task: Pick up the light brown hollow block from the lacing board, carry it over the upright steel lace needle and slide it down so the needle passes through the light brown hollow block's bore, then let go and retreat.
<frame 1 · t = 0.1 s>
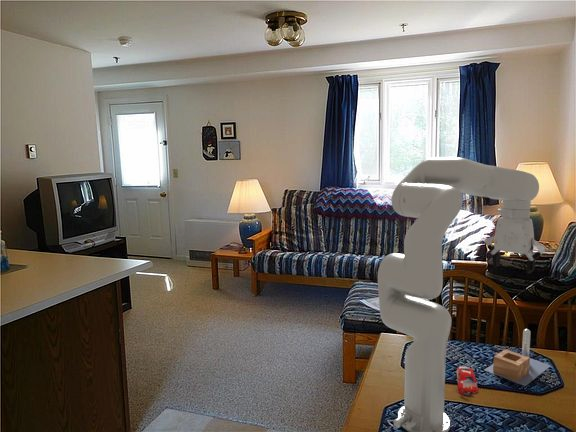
hand: (512, 269, 131), 31 cm above the table, fingers open, 9 cm apart
race car: (466, 386, 125), on the table
light brown hollow block: (510, 372, 129), point 1 cm above the table, touching lacing board
lacing board: (517, 371, 132), on the table
lace needle: (524, 366, 135), resting on lacing board
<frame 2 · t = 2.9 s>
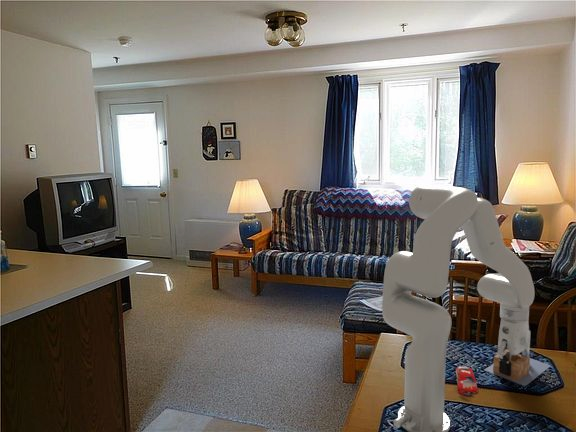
hand: (511, 369, 129), 2 cm above the table, fingers closed on light brown hollow block, 7 cm apart
light brown hollow block: (510, 372, 129), point 1 cm above the table, touching gripper, lacing board
everything else where it was.
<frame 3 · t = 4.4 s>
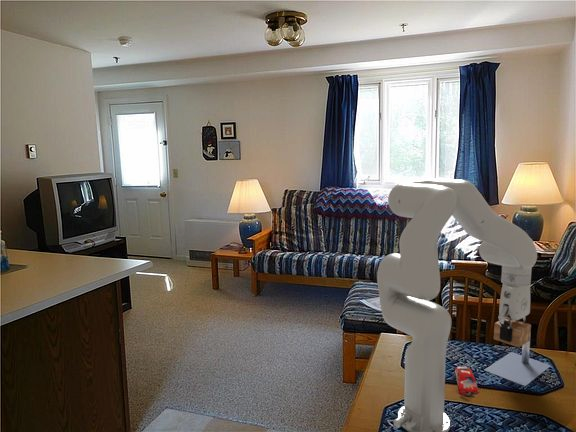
hand: (511, 336, 127), 13 cm above the table, fingers closed on light brown hollow block, 7 cm apart
light brown hollow block: (511, 339, 127), point 12 cm above the table, touching gripper
everything else where it was.
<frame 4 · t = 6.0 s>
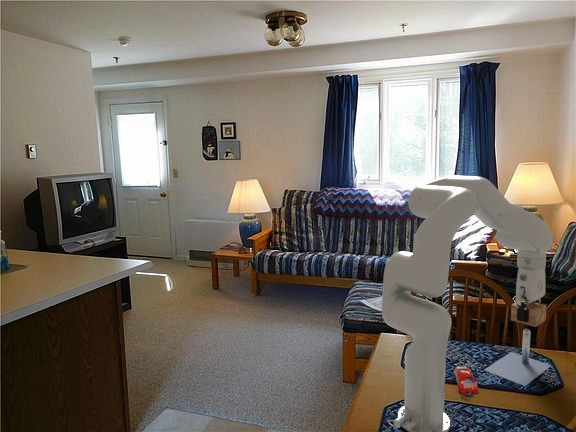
hand: (528, 317, 133), 16 cm above the table, fingers closed on light brown hollow block, 7 cm apart
light brown hollow block: (528, 320, 133), point 15 cm above the table, touching gripper
everything else where it was.
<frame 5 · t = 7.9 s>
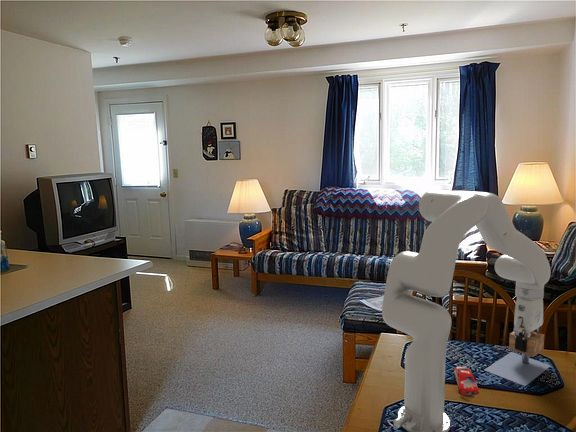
hand: (526, 346, 134), 7 cm above the table, fingers closed on light brown hollow block, 7 cm apart
light brown hollow block: (526, 349, 134), point 6 cm above the table, touching gripper
everything else where it was.
when the fingers open (4 cm above the table, at t = 9.5 s): light brown hollow block drops 2 cm, resting on lacing board.
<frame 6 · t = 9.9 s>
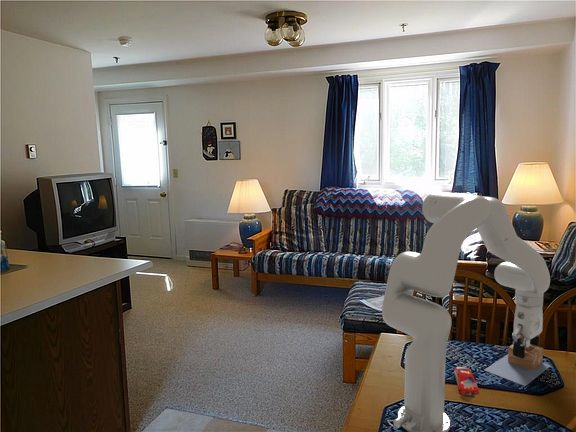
hand: (525, 351, 134), 5 cm above the table, fingers open, 9 cm apart
light brown hollow block: (524, 362, 135), point 1 cm above the table, touching lacing board
everything else where it was.
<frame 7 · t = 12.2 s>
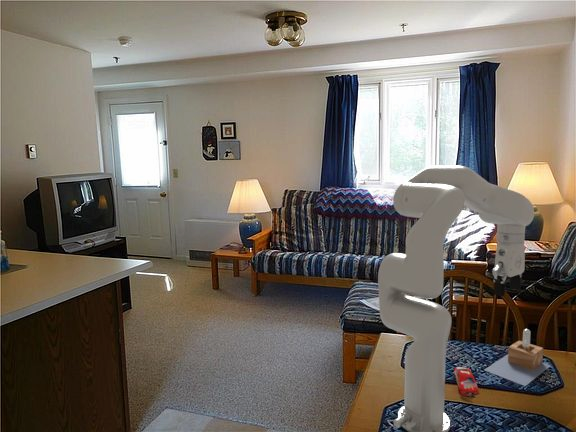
hand: (507, 292, 133), 24 cm above the table, fingers open, 9 cm apart
nothing on the table moved.
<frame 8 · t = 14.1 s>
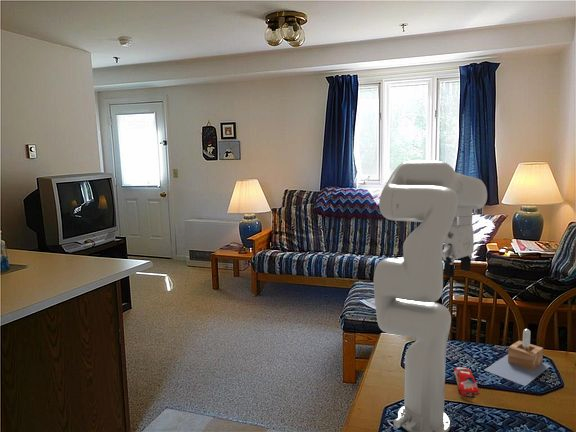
hand: (457, 273, 138), 28 cm above the table, fingers open, 9 cm apart
nothing on the table moved.
at the end: light brown hollow block 0.0 cm from the lace needle (horizontally); light brown hollow block point 1.2 cm above the table; the gripper is holding nothing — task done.
